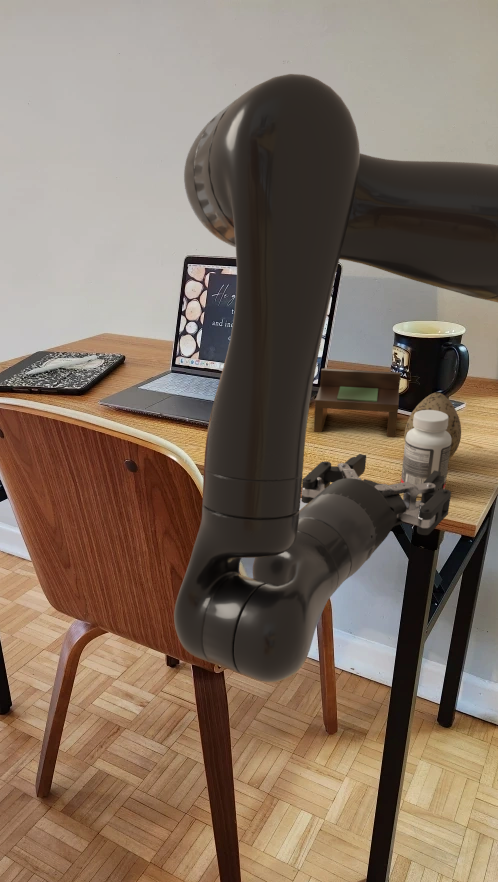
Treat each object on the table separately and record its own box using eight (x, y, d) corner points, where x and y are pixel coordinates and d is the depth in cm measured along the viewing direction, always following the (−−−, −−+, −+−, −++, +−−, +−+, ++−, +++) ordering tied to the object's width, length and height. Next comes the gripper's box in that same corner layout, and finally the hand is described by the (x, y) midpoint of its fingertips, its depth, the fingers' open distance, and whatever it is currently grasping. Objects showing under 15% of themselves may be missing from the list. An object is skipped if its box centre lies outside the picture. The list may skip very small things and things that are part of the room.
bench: (395, 418, 108) (400, 372, 105) (395, 437, 101) (400, 388, 98) (319, 413, 111) (321, 368, 108) (313, 431, 104) (316, 383, 101)
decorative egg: (395, 469, 91) (403, 397, 87) (407, 450, 97) (415, 382, 92) (451, 479, 88) (462, 405, 84) (460, 458, 94) (470, 388, 90)
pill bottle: (430, 477, 89) (439, 405, 84) (453, 495, 84) (464, 420, 80) (392, 482, 88) (399, 410, 83) (413, 501, 83) (422, 425, 79)
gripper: (415, 515, 59) (469, 452, 71) (270, 478, 66) (341, 426, 78) (406, 588, 62) (458, 516, 74) (269, 545, 69) (337, 486, 81)
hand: (398, 470), depth 76 cm, fingers open, 8 cm apart
